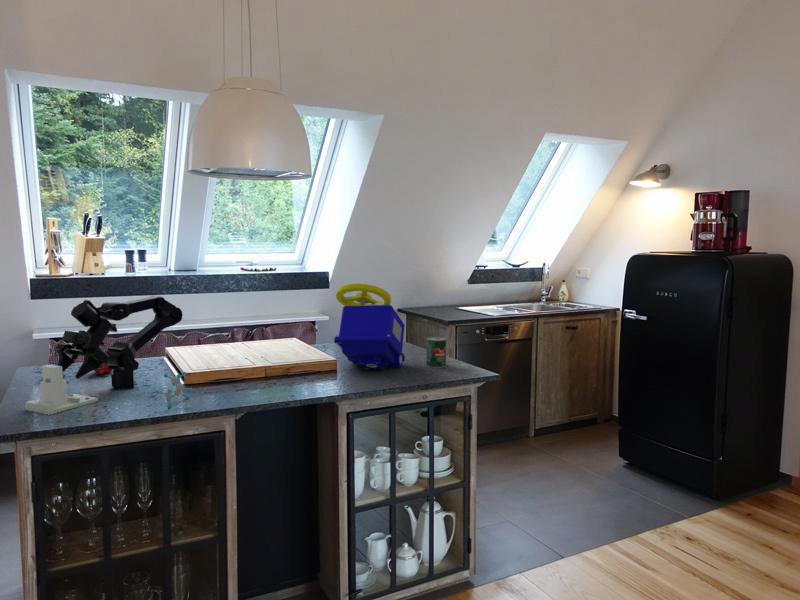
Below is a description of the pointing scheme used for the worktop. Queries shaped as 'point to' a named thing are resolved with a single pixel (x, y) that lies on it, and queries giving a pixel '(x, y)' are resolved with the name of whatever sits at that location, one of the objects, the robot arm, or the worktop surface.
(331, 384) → the worktop surface
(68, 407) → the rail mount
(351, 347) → the control box
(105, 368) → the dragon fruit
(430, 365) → the canned tomato
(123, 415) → the worktop surface
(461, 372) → the worktop surface
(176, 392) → the molecular model
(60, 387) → the block
